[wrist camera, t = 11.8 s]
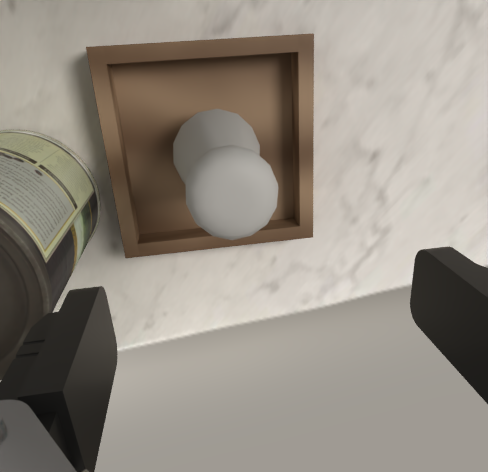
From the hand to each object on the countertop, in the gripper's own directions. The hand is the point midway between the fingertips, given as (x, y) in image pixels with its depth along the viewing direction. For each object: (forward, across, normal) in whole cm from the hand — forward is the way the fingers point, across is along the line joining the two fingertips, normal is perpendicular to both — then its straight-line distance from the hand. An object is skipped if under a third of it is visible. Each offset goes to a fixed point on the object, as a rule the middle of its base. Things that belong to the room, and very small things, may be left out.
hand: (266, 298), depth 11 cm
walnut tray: (+22, 0, 0) cm, 22 cm away
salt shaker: (+21, 0, 0) cm, 21 cm away
